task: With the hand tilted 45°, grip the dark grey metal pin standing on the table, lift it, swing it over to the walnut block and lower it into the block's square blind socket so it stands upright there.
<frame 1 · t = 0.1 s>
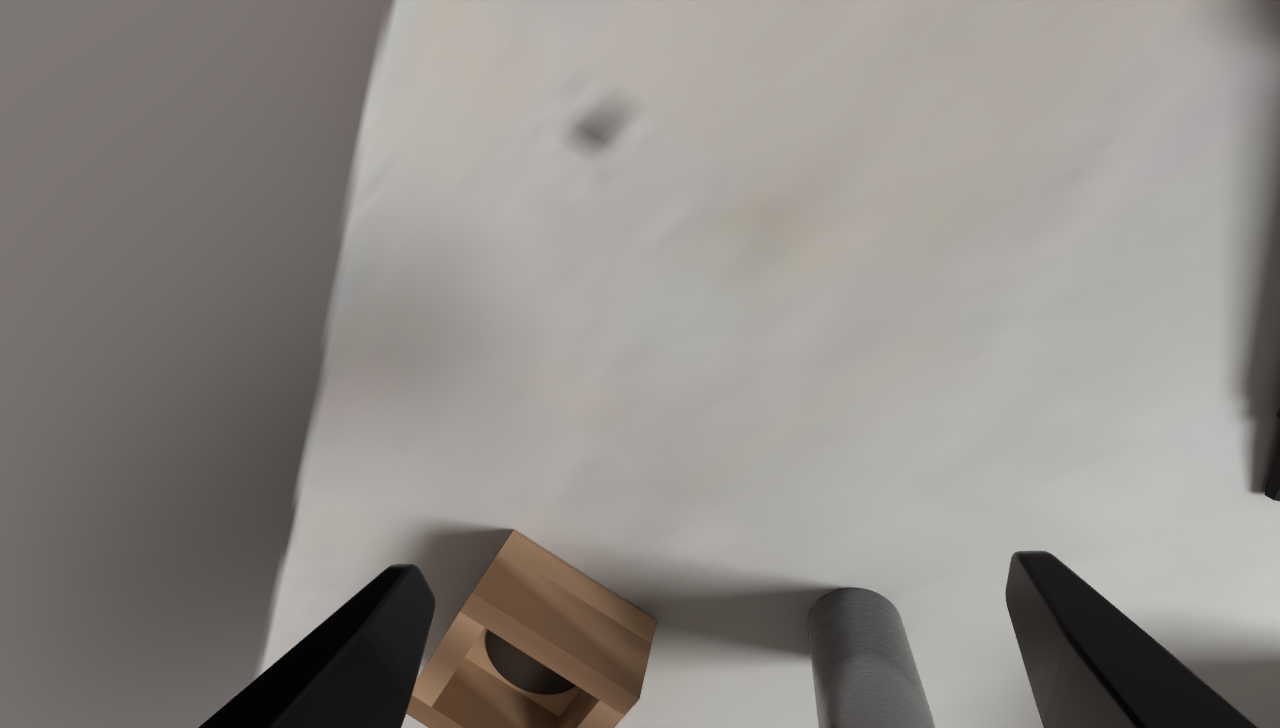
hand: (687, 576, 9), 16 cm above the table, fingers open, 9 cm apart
pin: (854, 626, 27), on the table
socket block: (546, 628, 30), on the table
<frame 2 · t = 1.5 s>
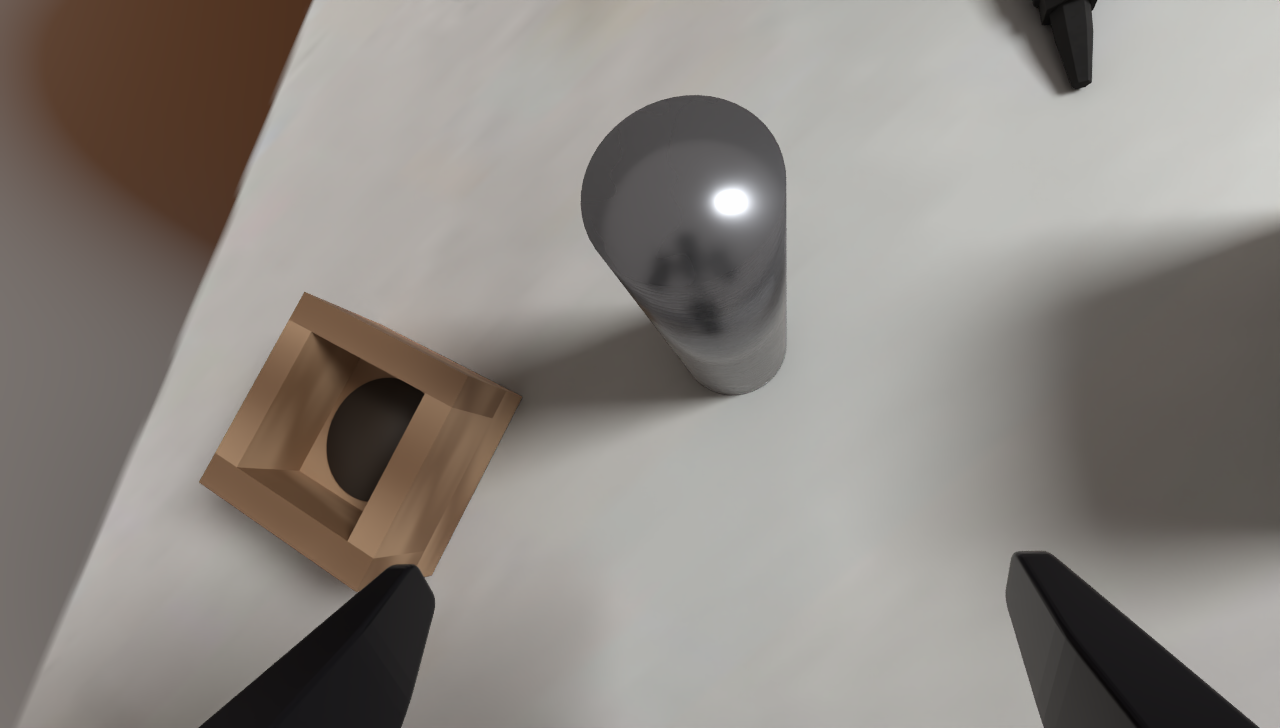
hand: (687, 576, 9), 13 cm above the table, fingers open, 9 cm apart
pin: (733, 344, 24), on the table
socket block: (403, 442, 26), on the table
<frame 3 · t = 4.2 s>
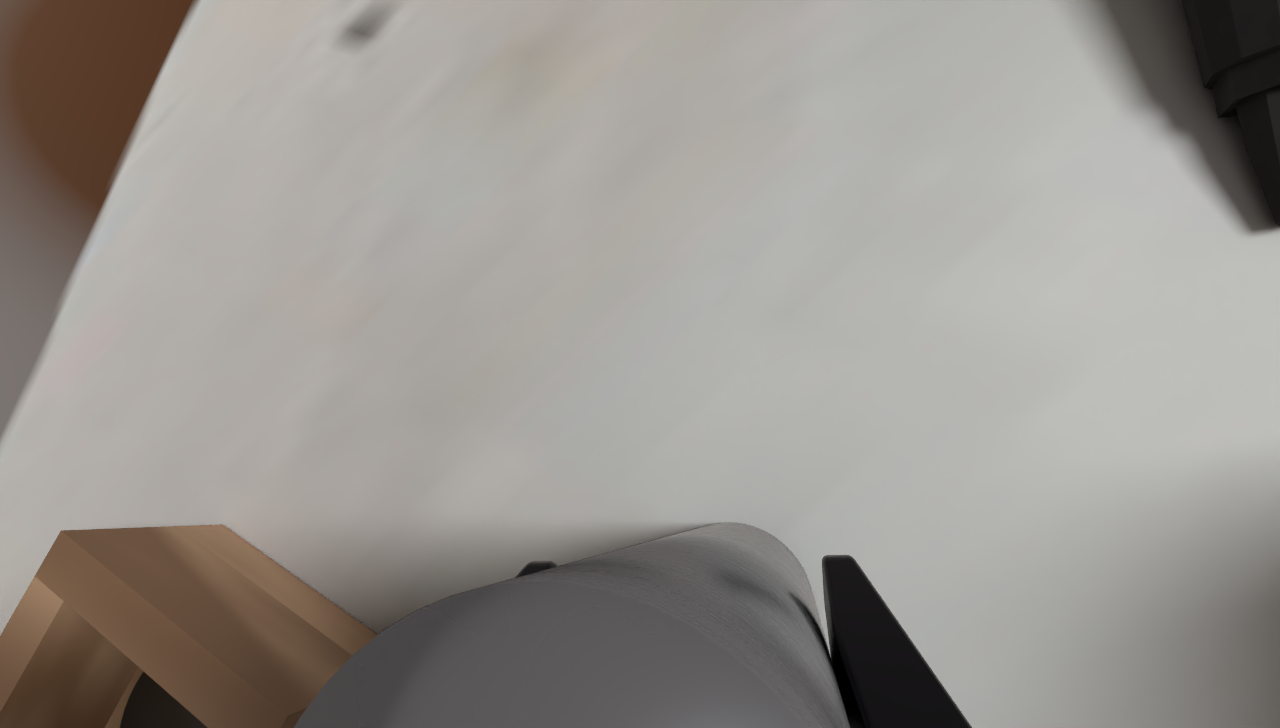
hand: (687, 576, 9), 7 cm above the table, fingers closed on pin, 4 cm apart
pin: (731, 605, 15), on the table, touching gripper
socket block: (244, 717, 18), on the table
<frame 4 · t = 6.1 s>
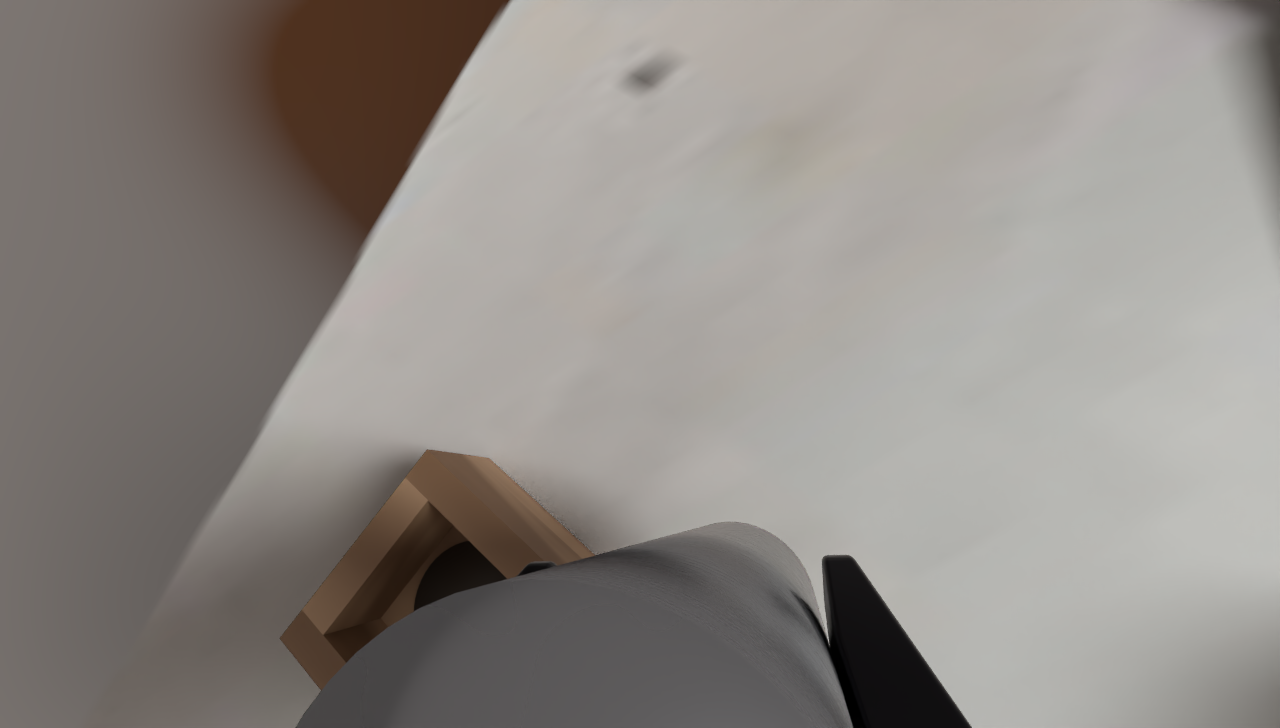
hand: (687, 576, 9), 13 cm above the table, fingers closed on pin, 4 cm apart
pin: (733, 604, 15), point 7 cm above the table, touching gripper
socket block: (495, 604, 24), on the table
when the fingers open (9 cm above the table, at t = 8.1 s): pin drops 1 cm, resting on socket block.
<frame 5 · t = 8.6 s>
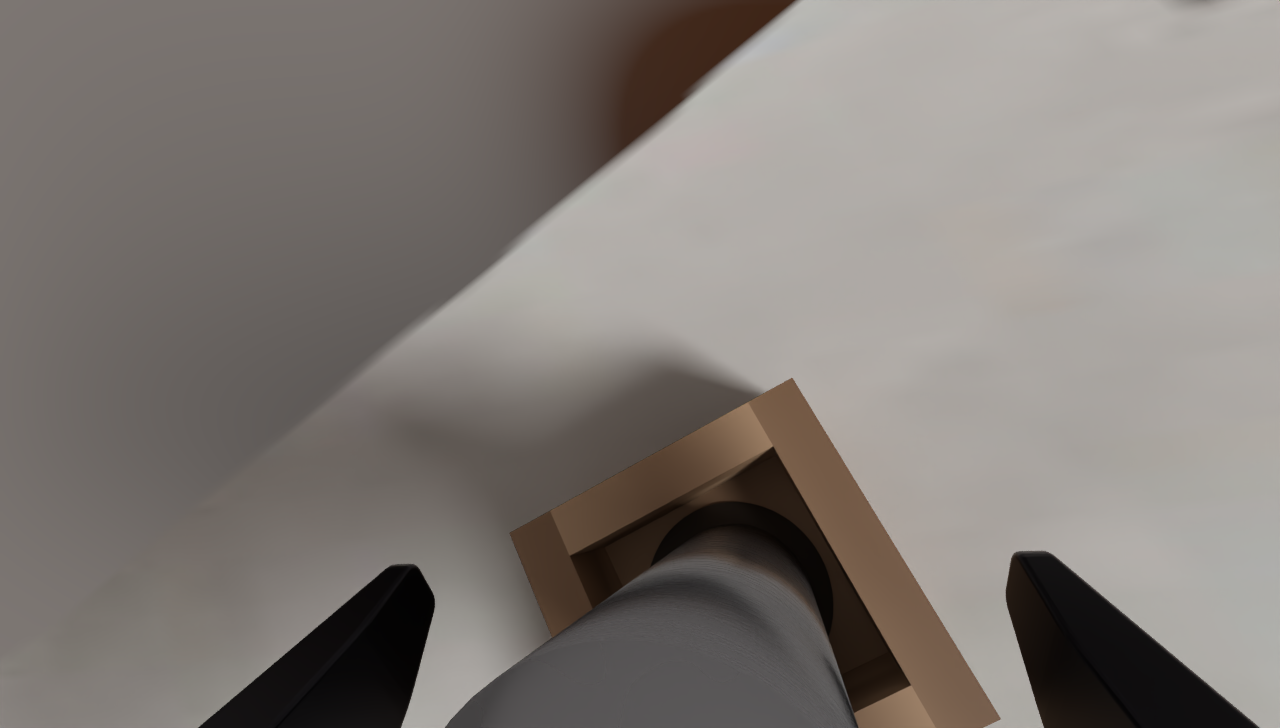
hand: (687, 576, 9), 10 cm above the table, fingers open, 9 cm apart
pin: (736, 600, 16), point 2 cm above the table, touching socket block
socket block: (741, 588, 18), on the table
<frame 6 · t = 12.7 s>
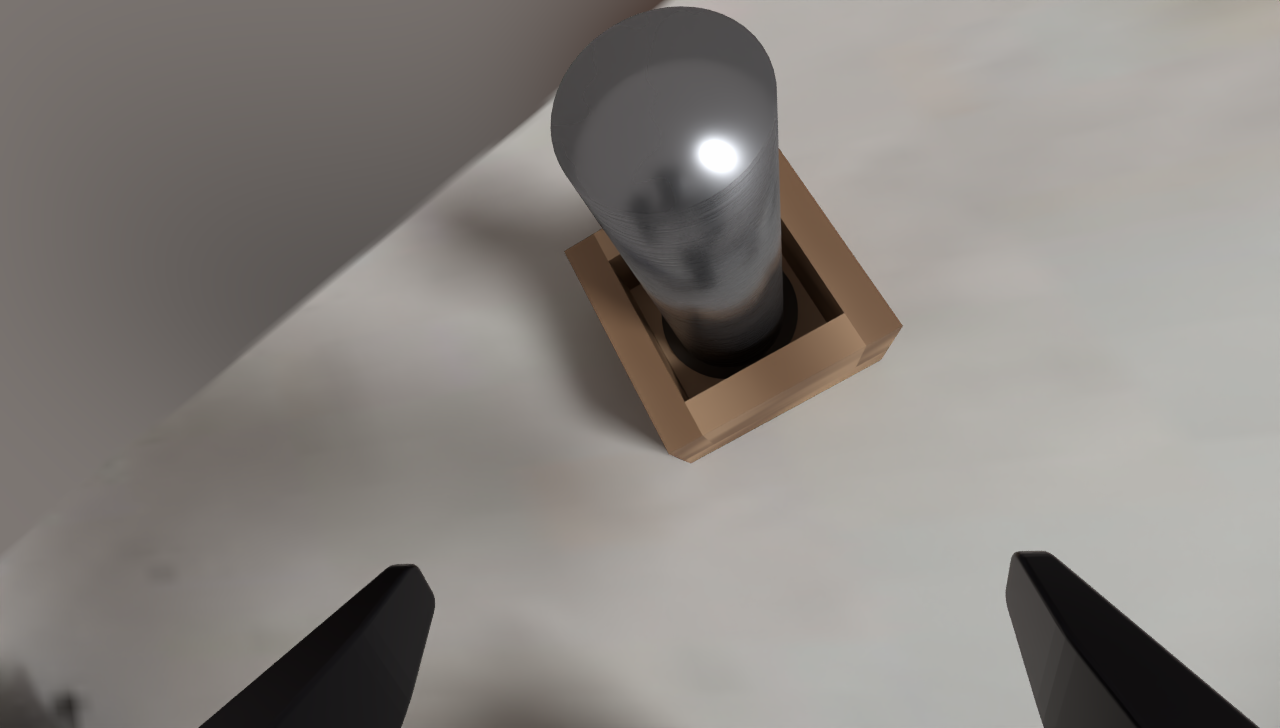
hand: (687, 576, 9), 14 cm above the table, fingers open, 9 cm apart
pin: (727, 314, 22), point 2 cm above the table, touching socket block
socket block: (731, 324, 24), on the table
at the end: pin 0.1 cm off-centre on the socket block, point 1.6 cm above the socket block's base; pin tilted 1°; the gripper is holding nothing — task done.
